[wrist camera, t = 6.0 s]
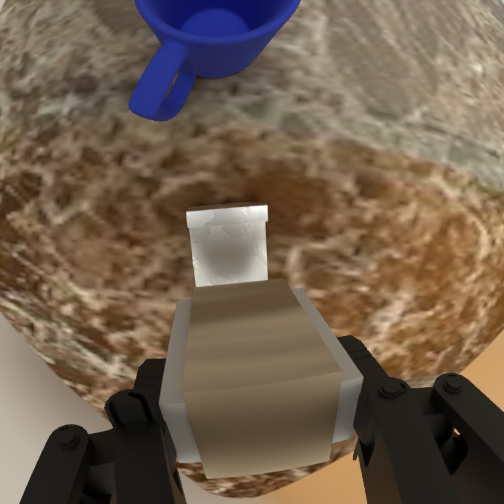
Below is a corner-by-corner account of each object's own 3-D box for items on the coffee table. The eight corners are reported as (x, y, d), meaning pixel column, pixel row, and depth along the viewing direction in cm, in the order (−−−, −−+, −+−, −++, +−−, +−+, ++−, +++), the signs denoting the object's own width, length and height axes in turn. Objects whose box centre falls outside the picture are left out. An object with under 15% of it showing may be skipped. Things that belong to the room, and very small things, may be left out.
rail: (190, 203, 23) (176, 233, 14) (257, 197, 24) (290, 223, 14) (216, 399, 29) (222, 481, 19) (267, 394, 29) (288, 473, 20)
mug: (117, 112, 20) (60, 85, 11) (192, -13, 18) (188, -89, 9) (215, 153, 22) (218, 148, 13) (285, 24, 20) (328, -40, 10)
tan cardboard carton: (193, 287, 14) (182, 392, 7) (283, 278, 14) (342, 370, 7) (206, 371, 15) (209, 487, 8) (285, 362, 15) (327, 469, 9)
